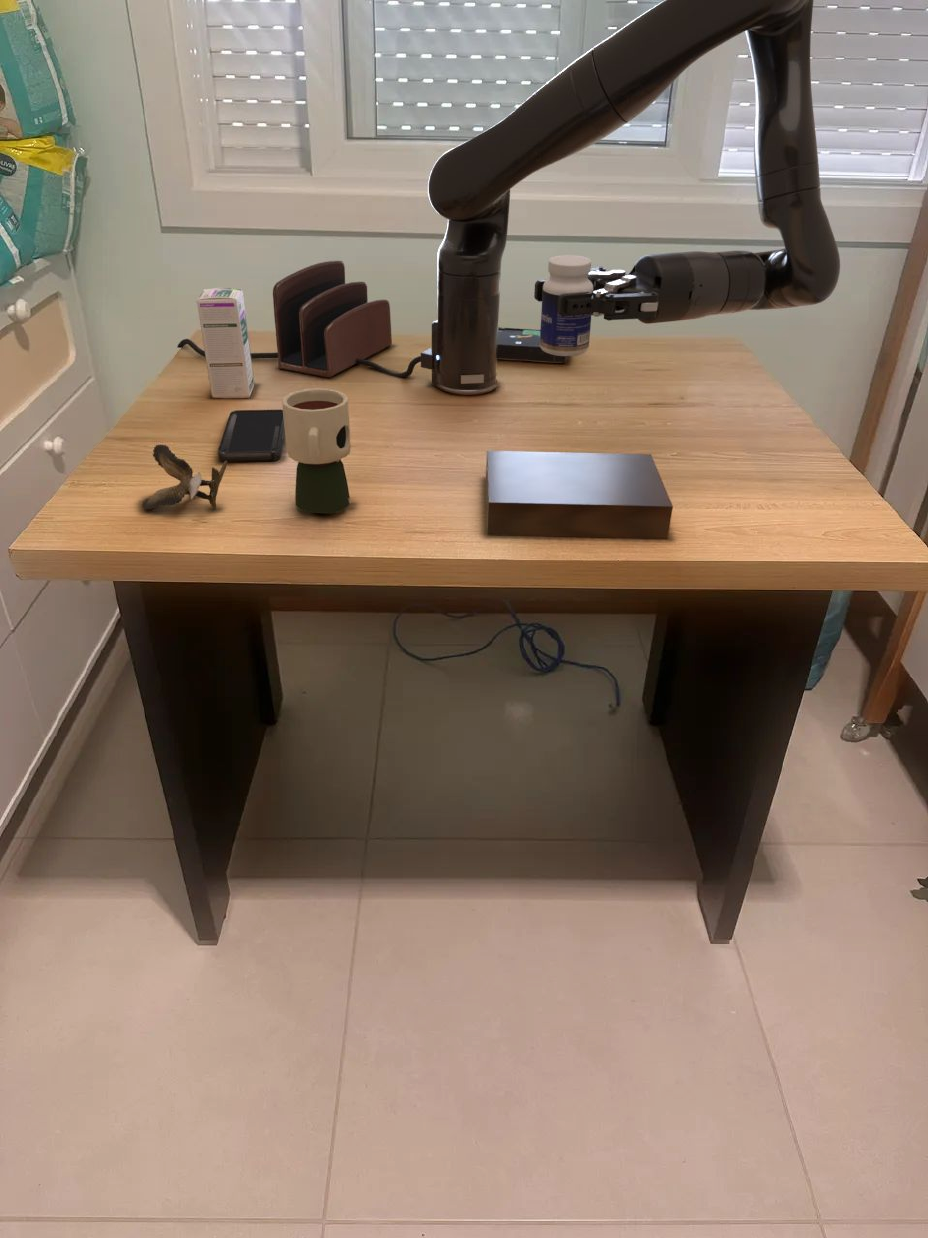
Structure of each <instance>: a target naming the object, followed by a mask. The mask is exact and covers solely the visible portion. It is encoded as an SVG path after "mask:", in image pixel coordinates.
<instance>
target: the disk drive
mask: <svg viewBox="0 0 928 1238" xmlns="http://www.w3.org/2000/svg"><path fill="white" fill-rule="evenodd" d="M497 360H504V361H505V360H506V361H526V362H527V361H529V362H533V363H534V362H537V363H549V364H550V363H551V364H552V363H560V364H562V363H567V360H568V356H557V355H552V354H549V353H546V352H544V351H543V350H542V349H541V348H540V329H532V328H518V327H517V328H515V327H500V326H498V350H497Z"/></svg>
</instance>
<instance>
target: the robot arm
mask: <svg viewBox="0 0 928 1238" xmlns="http://www.w3.org/2000/svg"><path fill="white" fill-rule="evenodd" d="M813 10H814V0H663V1H661V2H660V3H658V4H656V5H655V6H654V7H651V8H650V9H649V10H647V11H645V12H644V13H642V14H641V15H640V16H638V17H636V18H635V19H634V20H632V21H630V22H629V23H627V24H626V25H625V26H623V27H622V28H620V29H619V30H618V31H616V32H614V33H613V34H612V35H610V36H609V37H607V38H606V39H605V40H602V41H601V42H600V43H598V44H597V45H595V46H594V47H593V48H591V49H590V50H588V51H587V52H586V53H584V54H582V55H581V56H580V57H578V58H576V59H575V60H574V61H573V62H571V63H570V64H568V66H567V67H565V68H564V69H563V70H562V71H560V72H559V73H558V74H556V75H555V76H554V77H553V78H551V79H550V80H548V82H546V83H545V84H543V86H541V87H540V88H538V90H536V91H535V92H534V93H532V94H531V96H529V97H528V98H527V99H526V100H525V101H523V102H522V103H520V105H519V106H518V107H517V108H515V109H514V111H512V112H511V113H509V114H508V115H507V116H505V118H503V119H502V120H500V121H499V122H497V123H496V124H494V125H493V126H491V127H489V128H487V129H486V130H485V131H483V132H481V133H479V134H477V135H476V136H474V137H472V138H471V139H468V140H466V141H464V142H463V143H461V144H459V145H457V146H456V147H453V148H451V149H449V150H446V151H445V152H444V153H443V154H441V156H440V157H439V158H438V159H437V161H435V163H434V165H433V167H432V168H431V171H430V174H429V178H428V183H427V194H428V199H429V202H430V204H431V206H432V208H433V209H434V211H435V212H436V213H437V214H438V215H439V216H441V217H442V218H444V219H446V220H447V226H446V232H445V234H444V238H443V240H442V242H441V244H440V245H439V248H438V251H437V256H436V258H437V261H436V262H437V265H436V267H437V274H436V278H437V281H436V282H437V283H436V284H437V288H436V289H437V291H436V292H437V293H436V294H437V295H436V296H437V297H436V298H437V299H436V305H437V306H436V309H437V310H436V312H437V313H436V314H437V316H436V318H437V319H436V320H434V321H433V322H432V323H431V347H430V348H428V349H425V350H423V351H422V352H420V355H419V356H417V357H414V358H413V359H412V360H411V361H409V363H408V366H407V369H406V371H404V372H400V373H399V372H393V371H391V370H388V369H387V368H385V367H383V366H381V365H380V364H377V363H376V362H373V361H371V360H368V359H360V358H357V359H356V363H357V364H358V365H361V366H366V367H368V368H369V367H370V368H372V369H373V370H376V371H377V372H380V373H381V374H385V375H389V376H393V377H395V378H400V379H406V378H408V377H410V376H411V375H412V374H413V372H414V369H415V366H416V365H417V364H418V363H420V368H422V369H426V370H431V385H432V386H436V387H437V388H438V389H440V390H441V391H444V392H446V393H450V394H455V395H462V396H464V395H465V396H467V395H468V396H473V395H474V396H475V395H481V394H485V393H489V392H491V391H494V390H495V389H496V388H497V386H498V380H497V376H498V372H497V369H498V359H497V350H498V327H500V325H499V321H500V299H501V277H502V276H501V274H502V271H501V270H502V261H503V260H502V259H503V256H504V252H505V249H506V245H507V240H508V230H509V229H508V228H509V217H510V201H511V189H512V188H514V187H515V186H516V185H518V184H519V183H520V182H521V181H523V180H525V179H526V178H528V177H529V176H531V175H532V174H534V173H536V172H538V171H540V170H542V169H544V168H546V167H549V166H551V165H553V164H555V163H558V162H560V161H562V160H564V159H566V158H569V157H571V156H573V155H574V154H577V153H579V152H582V151H583V150H584V149H586V148H589V147H590V146H592V145H594V144H596V143H598V142H600V141H601V140H603V139H605V138H606V137H608V136H609V135H611V134H612V133H614V132H615V131H617V130H618V129H620V128H622V127H623V126H625V125H626V124H627V123H630V122H631V121H632V120H634V119H635V118H637V117H638V116H639V115H640V114H641V113H643V112H644V111H645V110H647V109H648V108H649V107H650V106H651V105H653V103H654V102H655V101H657V99H658V98H660V96H661V95H662V94H663V93H665V91H667V89H668V88H669V87H670V86H671V85H672V84H673V83H674V82H675V81H676V80H677V79H678V78H679V77H680V75H682V73H683V72H685V71H686V70H687V69H688V68H689V67H690V66H691V65H692V64H693V63H695V62H697V61H698V60H699V59H700V58H701V57H703V56H705V55H706V54H707V53H709V52H711V51H713V50H714V49H716V48H718V47H719V46H721V45H722V44H724V43H727V42H728V41H730V40H732V39H733V38H736V37H737V36H739V35H741V34H742V33H744V34H745V36H746V41H747V44H748V49H749V51H750V57H751V62H752V69H753V77H754V94H755V109H754V111H755V113H754V131H753V132H754V135H753V163H754V166H753V167H754V177H755V188H756V197H757V209H758V214H759V215H758V216H759V219H760V223H761V224H762V225H763V226H764V227H766V228H768V229H775V230H777V231H779V234H780V236H781V239H782V242H783V245H784V248H780V249H774V250H768V251H760V252H758V251H757V252H753V251H749V250H725V251H701V250H700V251H699V250H694V251H693V250H692V251H679V252H665V253H652V254H645V255H643V256H641V257H639V258H638V259H637V261H636V262H635V263H634V265H633V267H632V269H631V270H630V272H628V274H627V273H626V272H627V271H626V270H623V269H612V270H610V271H607V268H606V267H604V266H598V267H591V272H590V273H589V274H588V280H590V281H591V283H592V284H593V296H592V293H591V292H581V293H569V294H561V295H560V296H559V298H558V310H557V311H558V314H560V315H561V316H573V315H584V314H590V312H591V316H593V317H596V318H597V317H602V316H603V320H605V321H608V322H609V321H619V320H620V321H621V320H638V321H639V322H641V323H642V324H646V325H648V324H649V325H650V324H658V323H660V324H661V323H667V322H668V323H669V322H677V321H678V322H680V321H691V320H697V319H701V318H706V317H709V316H719V315H728V314H735V313H741V312H745V311H763V310H764V311H766V310H782V309H791V308H799V307H808V306H815V305H818V304H820V303H822V302H824V301H826V300H828V298H829V297H830V296H831V295H832V294H833V292H834V291H835V290H836V288H837V284H838V282H839V279H840V278H839V277H840V273H841V258H840V257H841V256H840V251H839V248H838V244H837V242H836V239H835V236H834V232H833V230H832V226H831V223H830V220H829V217H828V215H827V212H826V210H825V208H824V205H823V202H822V198H821V193H822V192H821V179H820V165H819V164H820V163H819V154H818V144H817V142H818V141H817V133H816V124H815V115H814V104H813V93H812V78H811V76H812V75H811V74H812V73H811V72H812V71H811V45H812V44H811V43H812V42H811V39H812V25H813V23H812V22H813ZM546 280H547V279H539V280H536V281H535V283H534V294H533V297H534V299H535V300H536V301H537V302H539V303H542V291H543V285H544V283H545V281H546ZM186 345H188V346H189V347H190V348H191V349H192V350H193V351H194V352H196V354H198V355H200V356H202V357H204V358H206V357H205V351H204V349H202V348H201V347H199V346H198V344H196V343H195V342H194V341H193V340H191V339H189V338H184V339H182V340H181V341H179V342H178V344H177V346H176V347H177V348H178V349H183V348H184V347H185V346H186ZM255 359H257V360H258V359H278V352H251V360H255ZM357 364H356V365H357Z"/></svg>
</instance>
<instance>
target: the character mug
mask: <svg viewBox="0 0 928 1238" xmlns="http://www.w3.org/2000/svg"><path fill="white" fill-rule="evenodd" d="M281 406H282V407H281V408H282V410H283V417H284V428H285V436H284V439H285V446H286V447H285V449H286V452H287V455H288V458H290V459H292V460H293V461H295V462H297V464H296V471H295V472H296V475H295V489H294V490H295V496H294V497H295V498H294V499H295V500H294V501H295V502H294V503H295V506H296V508H297V509H299V510H300V511H304V512H308V513H315V514H316V513H317V514H330V515H332V514H333V515H334V514H337V513H339V512H343V511H345V510H346V509H347V508H348V507H350V500H351V496H350V490H349V485H348V479H347V474H346V471H345V465H344V462H343V461H342V459H344V458H346V457H347V456H349V455H350V453H351V447H352V446H351V444H352V443H351V426H350V414H349V413H350V411H349V410H350V408H349V407H350V406H349V397H348V396H347V394H345V393H343V392H341V391H338V390H335V389H330V388H318V387H315V388H303V389H300V390H295V391H292V392H290V393H287V394H285V395H284V397H283V398H282V399H281Z"/></svg>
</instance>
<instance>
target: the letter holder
mask: <svg viewBox="0 0 928 1238" xmlns="http://www.w3.org/2000/svg"><path fill="white" fill-rule="evenodd" d="M272 301H273V303H272V304H273V314H274V315H273V316H274V317H273V318H274V325H275V326H274V327H275V328H274V329H275V339H276V350H277V352H278V358H277V364H278V368H279V370H286V371H290V372H296V373H301V374H306V375H311V376H315V377H316V376H317V377H320V378H321V377H322V378H326V379H330V378H332V377H334V376H335V375H337V374H339V373H342V372H344V371H345V370H347V369H349V368H351V367H353V366H355V365H357V363H356V359H357V358H360V359H364V360H367V358H370V357H372V356H374V355H376V354H378V353H379V352H381V351H383V350H385V349H387V348H389V347H391V346H393V338H392V337H393V336H392V320H391V303H390V302H389V300H388V299H384V298H383V299H377V300H373V301H369V302H368V285H367V283H366V281H350V282H346V268H345V263H344V262H343V261H342V260H328V261H322V262H318V263H315V264H312V265H309V266H306V267H303V268H302V269H299V270H296V271H295V272H293V273H291V274H289V275H287V276H286V277H283V278H282V279H280V280H278V281H277V282H276V283H275V284H274V286H273V287H272ZM277 352H276V353H277Z"/></svg>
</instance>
